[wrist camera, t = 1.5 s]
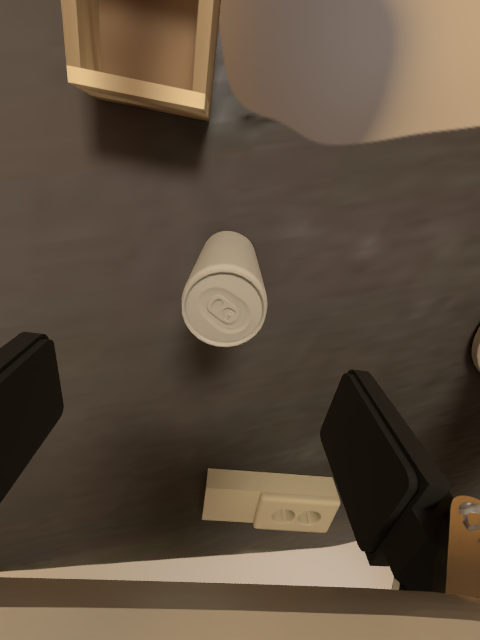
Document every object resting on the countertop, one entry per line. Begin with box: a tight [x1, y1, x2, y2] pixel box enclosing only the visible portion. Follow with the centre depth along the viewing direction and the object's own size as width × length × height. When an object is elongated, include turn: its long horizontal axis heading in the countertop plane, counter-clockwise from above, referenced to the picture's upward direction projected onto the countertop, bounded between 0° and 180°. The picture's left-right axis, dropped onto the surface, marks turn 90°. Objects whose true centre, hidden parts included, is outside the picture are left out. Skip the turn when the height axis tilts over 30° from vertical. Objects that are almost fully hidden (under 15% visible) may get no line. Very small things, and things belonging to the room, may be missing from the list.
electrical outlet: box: [202, 468, 340, 533], centre depth 40 cm, size 7×4×18 cm
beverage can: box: [182, 231, 267, 347], centre depth 20 cm, size 5×5×12 cm
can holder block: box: [61, 0, 221, 121], centre depth 17 cm, size 8×8×4 cm
